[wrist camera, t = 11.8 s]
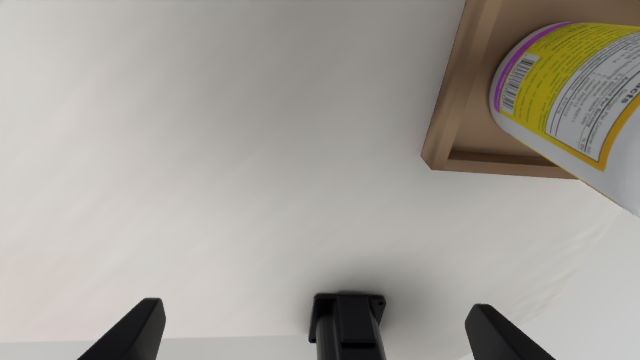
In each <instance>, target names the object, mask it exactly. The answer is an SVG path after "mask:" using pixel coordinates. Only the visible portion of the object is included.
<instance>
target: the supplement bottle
mask: <svg viewBox="0 0 640 360" xmlns="http://www.w3.org/2000/svg"><path fill="white" fill-rule="evenodd" d="M489 103H490V110H491V113H492V116H493V118H494V120H495V122H496V123H497V125H498V126H499V127H500V128H501V129H502V130H503V131H505V132H506V133H508V134H509V135H510V136H512V137H513V138H515V139H517V140H518V141H520V142H521V143H523V144H524V145H526V146H527V147H529V148H531V149H532V150H534V151H535V152H537V153H539V154H540V155H542V156H543V157H545V158H546V159H548V160H550V161H551V162H553V163H554V164H556V165H557V166H559V167H560V168H562V169H563V170H565V171H567V172H568V173H570V174H571V175H573V176H575V177H576V178H578V179H579V180H581V181H582V182H584V183H585V184H587V185H588V186H590V187H592V188H593V189H595V190H596V191H598V192H599V193H601V194H602V195H604V196H605V197H607V198H608V199H610V200H611V201H613V202H615V203H616V204H618V205H619V206H621V207H622V208H624V209H626V210H627V211H629V212H631V213H632V214H634V215H636V216H638V217H640V27H638V26H626V25H614V24H602V23H587V22H560V23H556V24H552V25H548V26H546V27H543V28H541V29H539V30H537V31H535V32H533V33H531V34H530V35H528V36H527V37H526V38H524V39H523V40H522V41H521V42H519V43H518V44H517V45H516V46H515V47H514V48H513V49H512V50H511V51H510V52H509V53H508V54H507V56H506V57H505V58H504V59H503V61H502V62H501V64H500V66H499V67H498V69H497V71H496V73H495V76H494V78H493V81H492V84H491V88H490V95H489Z"/></svg>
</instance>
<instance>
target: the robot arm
mask: <svg viewBox="0 0 640 360" xmlns="http://www.w3.org/2000/svg"><path fill="white" fill-rule="evenodd" d="M385 305H386V300H385V298H384V297H383V296H358V295H317V296H315V297H314V301H313V308H312V315H311V322H310V329H309V336H308V337H309V342H310V343H316V344H317V360H387V359H386V355H385V351H384V347H383V343H382V339H381V335H380V331H379V324H380V321H381V318H382V314H383V311H384V308H385ZM165 322H166V316H165V311H164V307H163V302H162V300H161V299H160V298H145V299H143V300H142V301H140V302H139V303H138V304H137V305H136V306H135V307H134V308H133V309H132V310H131V311H129V312H128V313H127V314H126V315H125V316H124V317H123V318H122V319H121V320H120V321H119V322H117V323H116V324H115V325H114V326H113V327H112V328H111V329H110V330H109V331H108V332H107V333H105V334H104V335H103V336H102V337H101V338H100V339H99V340H98V341H97V342H96V343H95V344H94V345H92V346H91V347H90V348H89V349H88V350H87V351H86V352H85V353H84V354H83V355H82V356H80V357H79V358H78V359H77V360H155V359H156V356H157V353H158V349H159V345H160V342H161V338H162V335H163V331H164V327H165ZM465 329H466V332H467V336H468V339H469V342H470V346H471V349H472V352H473V356H474V359H475V360H556V359H554V358H553V357H552V356H551V355H549V354H548V353H547V352H546V351H545V350H544V349H542V348H541V347H540V346H539V345H538V344H536V343H535V342H534V341H533V340H531V339H530V338H529V337H528V336H527V335H526V334H524V333H523V332H522V331H521V330H520V329H519V328H517V327H516V326H515V325H514V324H513V323H511V322H510V321H509V320H508V319H507V318H505V317H504V316H503V315H502V314H501V313H499V312H498V311H497V310H496V309H495V308H493V307H492V306H491V305H489V304H475V305H473V307H472V309H471V311H470V312H469V314H468V316H467V318H466V320H465Z"/></svg>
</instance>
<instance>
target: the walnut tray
mask: <svg viewBox="0 0 640 360" xmlns="http://www.w3.org/2000/svg"><path fill="white" fill-rule="evenodd" d="M560 22H587V23H602V24H614V25H626V26H638V27H640V0H467V1H466V5H465V8H464V11H463V15H462V18H461V21H460V25H459V28H458V32H457V35H456V38H455V42H454V45H453V48H452V52H451V55H450V59H449V62H448V65H447V69H446V72H445V75H444V79H443V82H442V86H441V89H440V92H439V96H438V99H437V102H436V106H435V109H434V113H433V116H432V119H431V123H430V126H429V129H428V133H427V136H426V140H425V143H424V146H423V150H422V153H421V157H422V158H423V159H424V161H425V162H426V163H427V165H428V166H429V167H430V168H431V170H443V171H458V172H473V173H488V174H502V175H517V176H532V177H547V178H562V179H577V180H579V179H578V178H576V177H575V176H573V175H571V174H570V173H568V172H567V171H565V170H563V169H562V168H560V167H559V166H557V165H556V164H554V163H553V162H551V161H550V160H548V159H546V158H545V157H543V156H542V155H540V154H539V153H537V152H535V151H534V150H532V149H531V148H529V147H527V146H526V145H524V144H523V143H521V142H520V141H518V140H517V139H515V138H513V137H512V136H510V135H509V134H508V133H506V132H505V131H503V130H502V129H501V128H500V127H499V126H498V125H497V123H496V122H495V120H494V118H493V116H492V113H491V110H490V103H489V95H490V88H491V84H492V81H493V78H494V76H495V73H496V71H497V69H498V67H499V66H500V64H501V62H502V61H503V59H504V58H505V57H506V56H507V54H508V53H509V52H510V51H511V50H512V49H513V48H514V47H515V46H516V45H517V44H518V43H519V42H521V41H522V40H523V39H524V38H526V37H527V36H528V35H530V34H531V33H533V32H535V31H537V30H539V29H541V28H543V27H546V26H548V25H552V24H556V23H560Z"/></svg>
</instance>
